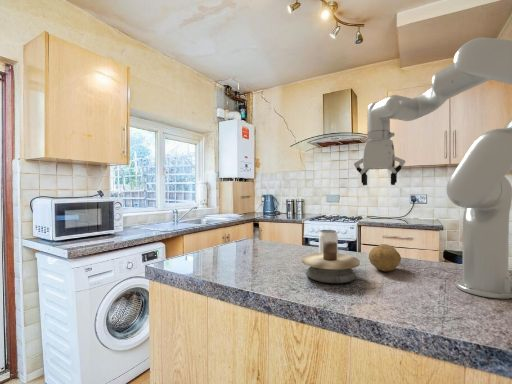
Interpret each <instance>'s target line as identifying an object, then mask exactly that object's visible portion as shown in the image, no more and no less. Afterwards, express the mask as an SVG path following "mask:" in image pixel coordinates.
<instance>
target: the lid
mask: <svg viewBox="0 0 512 384" xmlns="http://www.w3.org/2000/svg"><path fill="white" fill-rule="evenodd" d="M301 262H302V264H304V265H306V266H309V267H315V268H321V269H333V270H341V269H354V268H357V267H359V266H360V259H359V258H357V257H355V256H353V255H348V254H343V253H338V254H337V243H336V242H323V253H319V252H314V253H308V254H305V255H303V256H302V257H301Z"/></svg>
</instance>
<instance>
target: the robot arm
mask: <svg viewBox="0 0 512 384" xmlns="http://www.w3.org/2000/svg"><path fill="white" fill-rule="evenodd" d="M490 80H491V81H495V82H499V83H500V82H501V83H504V84H507V85H511V86H512V39H503V38H502V39H501V38H494V37H484V36H483V37H477V38H473V39H471V40H468V41H467V42H465V43H464V44H462V45H461V46H460V47H459V48H458V50H457V51H456V52H455V54H454V57H453V62H452V64H449V65H448V66H446V67H443V69H440V70H438V71H437V72H435V73H434V74H433V76H432V78H431V87H430V88H429V89H428V90H427V91H425V92H423V93H422V94H419V95H418V96H415V97H412V98H411V97H407V96H402V95H399V94H393V95H389V96H387V97H386V98H383V99H382V100H378V101H374V102H371V103H370V104H368V106H367V108H366V110H367V111H366V112H367V115H366V117H367V119H366V120H367V123H366V125H367V128H366V129H367V130H366V131H367V133H366V135H367V137H366V138H367V141H366V142H365V144H364V149H363V157H362V158H361V159H359V160H357V161H355V162H354V164H353V165H354V167H355V169H356V171H357V172H358V173H359V175H361V184H362V186H368V174H367V173H368V172H369V171H370V170H389V171H390V172H391V173H390V185H391V186H396V183H397V182H398V181H397V179H398V178H397V176H398V173H399V172H400V171H401V170H402V169H403V168H404V165H405V164H406V160H405V159H403V158H400V157H398V156H396V155H395V145H394V141H393V139H391V138H392V137H395V132H392V131H391V120H397V121H404V122H411V121H415V120H417V119H420V118H422V117H425V116H427V115H429V114H431V113H433V112H435V111H436V110H437V109H438V110H439V108H440V107H442V105H443V104H445V102H447V101H448V100H449V99H451V98H453V97H455V96H458V95H459V94H461V93H464V92H466V91H469V90H471V89H472V88H475V87H477V86H480V85H481V84H484V83H486V82H488V81H490ZM396 162H398V163H399V164H398V166H396ZM360 165H363V166H362V167H363V168H361V166H360ZM395 166H396V167H395ZM509 171H512V117H511V118H510V120H509V121H508V123H507V124H506V125H505V127H504V128H496V129H491V130H488V131H485V132H484V133H482V135H480V136H478V137H477V138H476V139H475V140H474V141H473V143H472V144H471V145H470V147H468V149H467V151H466V153H465V154H464V156H462V159H461V160H460V162H459V163H458V165H457V167H456V168H455V170H454V171H453V172H452V174H451V176H450V178H449V179H448V181H447V185H446V194H447V197H448V199H449V201H450V202H451V203H453V204H454V205H456V206H458V207H461V208H464V212H463V217H462V278H461V279H457V280H456V281H455V287H456V288H457V289H459V290H461V291H463V292H466V293H469V294H470V295H475V296H479V297H485V298H491V299H500V300H501V299H504V300H505V299H512V278H511V276H510V273H509V252H510V250H509V243H510V241H509V239H510V235H509V232H510V231H509V230H510V214H511V213H510V211H511V205H512V184H511V181H510V180H509V179H508V178H507V177H506V175H507V174H508V172H509Z"/></svg>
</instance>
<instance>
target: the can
mask: <svg viewBox="0 0 512 384" xmlns="http://www.w3.org/2000/svg"><path fill="white" fill-rule="evenodd" d="M323 242H336V243H337V254H339V253H338V250H339V249H338V248H339V247H338V246H339V244H338V234H337V231H336V230H333V229H321V230H320V231H319V234H318V253H323Z"/></svg>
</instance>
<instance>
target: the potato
mask: <svg viewBox="0 0 512 384" xmlns="http://www.w3.org/2000/svg"><path fill="white" fill-rule="evenodd" d="M368 260H369V262H370V264H371V265H372V266H373V267H374V268H376V269H377V270H378V271H382V272H390V271H393V270H395V269H396V268H397V267H398V266H399V265H400V263H401V262H402V257H401V254H400V253H399V251H398V250H397V249H396V248H394V247H393V246H392V245H389V244H385V243H384V244H383V243H382V244H381V243H380V244H379V245H376V246H375V247H372V249H371V250H370V251H369V253H368Z"/></svg>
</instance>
